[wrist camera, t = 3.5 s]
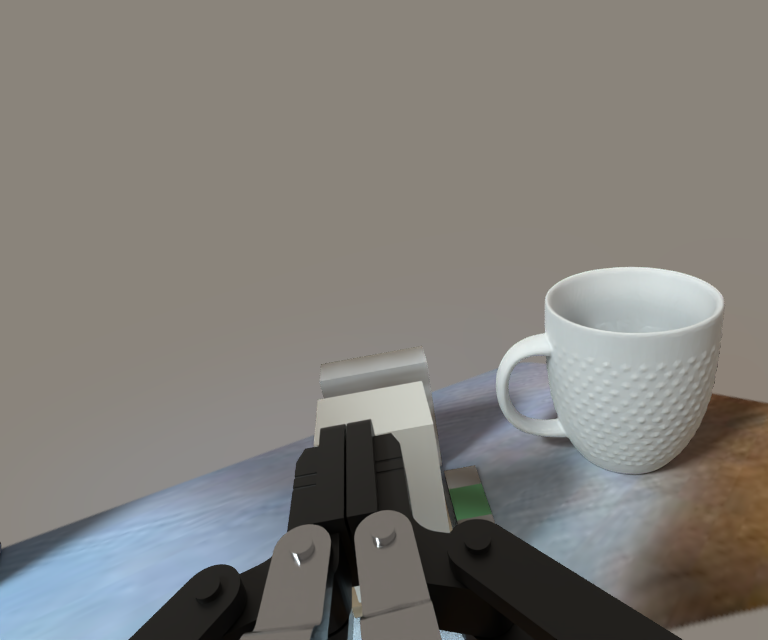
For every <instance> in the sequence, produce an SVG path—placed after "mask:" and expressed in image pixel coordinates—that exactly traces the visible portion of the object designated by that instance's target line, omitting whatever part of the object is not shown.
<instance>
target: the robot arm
mask: <svg viewBox="0 0 768 640" xmlns="http://www.w3.org/2000/svg"><path fill="white" fill-rule="evenodd" d="M0 553H1V543H0ZM356 586H360V595H361V604H362V615H363V616H362V617H361V618H360V627H361V637H362V640H442V639H441V635H440V631H439V630H444V631H450V632H455V633H461V634H462V635H463V637H464V639H465V640H682V639H681V638H679V637H678V636H676V635H674V634H673V633H671V632H670V631H668V630H666V629H665V628H663V627H662V626H660V625H658V624H657V623H655V622H653V621H652V620H650V619H649V618H647V617H645V616H644V615H642V614H641V613H639V612H637V611H636V610H634V609H633V608H631V607H629V606H628V605H626V604H624V603H623V602H621V601H620V600H618V599H616V598H615V597H613V596H612V595H610V594H608V593H607V592H605V591H603V590H602V589H600V588H599V587H597V586H595V585H594V584H592V583H591V582H589V581H587V580H586V579H584V578H583V577H581V576H579V575H578V574H576V573H574V572H573V571H571V570H570V569H568V568H566V567H565V566H563V565H562V564H560V563H558V562H557V561H555V560H553V559H552V558H550V557H549V556H547V555H545V554H544V553H542V552H541V551H539V550H537V549H536V548H534V547H533V546H531V545H529V544H528V543H526V542H524V541H523V540H521V539H520V538H518V537H516V536H515V535H513V534H512V533H510V532H508V531H507V530H505V529H504V528H502V527H500V526H499V525H497V524H495V523H493V522H491V521H488V520H483V519H471V520H467V521H464V522H462V523H460V524H458V525H457V526H456V527H454V528H453V530H452V531H451V532H450V533H445V532H437V531H432V530H429V529H427V528H424V527H423V526H421V525H420V524H419V523H418V522H417V521H416V520H415V519H414V518H413V512H412V506H411V500H410V494H409V487H408V481H407V476H406V471H405V466H404V461H403V456H402V451H401V446H400V443H399V441H398V440H397V439H396V438H395V437H394V436H393V435H392V433H388V434H383V435H377V436H375V433H374V428H373V424H372V420H371V419H368V420H362V421H357V422H351V423H347V425H346V424H341V425H336V426H330V427H325V428H321V429H320V437H319V446H318V447H313V448H307V449H305V450H304V452H303V453H302V455H301V456H300V458H299V459H298V461H297V463H296V470H295V479H294V485H293V493H292V500H291V507H290V515H289V522H288V530H287V533H286V534H285V535H283V537H282V538H281V539H280V540H279V541H278V543H277V544H276V546H275V548H274V551H273V555H272V557H271V558H270V559H268V560H267V561H265V562H264V563H262V564H260V565H258V566H256V567H254V568H252V569H249V570H247V571H245V572H243V573H241V574H239V573H238V572H237V570H236V569H235V568H233V567H232V566H229V565H223V564H220V565H214V566H211V567H208V568H206V569H204V570H202V571H200V572H199V573H197V574H196V575H195V576H193V577H192V578H191V579H190V580H189V581H188V582H187V583H186V584H185V585H184V586H183V587H182V588H181V589H180V590H179V591H178V592H177V593H176V594H175V595H174V596H173V597H172V598H171V599H170V600H169V601H168V602H167V603H166V604H165V605H164V606H162V607H161V608H160V609H159V610H158V611H157V612H156V613H155V614H154V615H153V616H152V617H151V618H150V619H149V620H148V621H147V622H146V623H145V624H144V625H143V626H142V627H141V628H140V629H139V630H138V631H137V632H136V633H135V634H134V635H133V636H132V637H131V638H130V639H129V640H353V626H354V615H353V610H352V587H356Z"/></svg>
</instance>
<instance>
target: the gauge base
mask: <svg viewBox="0 0 768 640" xmlns="http://www.w3.org/2000/svg"><path fill="white" fill-rule="evenodd" d="M418 381H422V383H423V387H424V391H425V395H426V398H427V402H428V406H429V410H430V413H431V417H432V421H433V425H434V432H435V438H436V445H437V451H438V458H439V464H440V466H442V460H441V453H440V446H439V440H438V433H437V426H436V420H435V413H434V406H433V400H432V393H431V386H430V380H429V374H428V366H427V361H426V357H425V355H424V351H423V348H422V346H418V347H413V348H408V349H402V350H397V351H392V352H386V353H380V354H375V355H369V356H364V357H359V358H353V359H347V360H342V361H336V362H331V363H325V364H321V369H320V380H319V382H320V385H321V389H322V393H323V397H324V399H325V398H330V397H336V396H341V395H347V394H352V393H358V392H363V391H369V390H374V389H380V388H385V387H391V386H396V385H402V384H407V383H413V382H418ZM444 473H445V478H446V482H447V485H448V489H449V493H450V497H451V501H452V505H453V508H454V512H455V516H456V520H457V524H460V523H462V522H464V521H467V520H471V519H483V520H488V521H491V522H493V523H495V521H494V518H493V515H492V513H491V510H490V507H489V504H488V501H487V498H486V495H485V492H484V490H483V487H482V484H481V481H480V478H479V475H478V472H477V469H476V467H475V465H474V466H469V467H463V468H457V469H452V470H446V471H444ZM444 497H445V496H444ZM445 503H446V501H445ZM446 510H447V517H448V523H449V530H450V532H451V531H452V530H453V529H452V525H451V521H450V517H449V513H448V509H447V505H446ZM352 610H353V613H354V617H355V618H358V617H362V616H363V615H362V604H361V603H359V601H358V598H357V594H356V591H355V587H352Z"/></svg>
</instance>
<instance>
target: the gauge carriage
mask: <svg viewBox="0 0 768 640" xmlns="http://www.w3.org/2000/svg"><path fill="white" fill-rule="evenodd" d="M368 419H371V420H372V424H373V428H374V433H375V436H377V435H383V434H388V433H392V435H393V436H394V437H395V438H396V439H397V440H398V441H399V443H400V446H401V451H402V456H403V461H404V466H405V471H406V476H407V481H408V487H409V494H410V500H411V506H412V512H413V518H414V519H415V520H416V521H417V522H418V523H419V524H420V525H421V526H423V527H424V528H427V529H429V530H432V531H437V532H445V533H450V530H449V523H448V517H447V510H446V503H445V497H444V490H443V484H442V477H441V471H440V464H439V458H438V451H437V445H436V438H435V432H434V425H433V421H432V417H431V413H430V410H429V406H428V402H427V398H426V395H425V391H424V387H423V383H422V381H418V382H413V383H407V384H402V385H396V386H391V387H385V388H380V389H374V390H369V391H363V392H358V393H352V394H347V395H341V396H336V397H330V398H325V399H320V400H318V402H317V414H316V425H315V436H314V447H318V446H319V437H320V429H321V428H325V427H330V426H336V425H341V424H346V425H347V423H351V422H357V421H362V420H368ZM355 591H356V594H357V598H358V601H359V603H361V595H360V586H356V587H355Z"/></svg>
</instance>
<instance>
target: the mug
mask: <svg viewBox="0 0 768 640" xmlns="http://www.w3.org/2000/svg"><path fill="white" fill-rule="evenodd" d="M724 309H725V304H724V298H723V296H722V295H721V293H720V292H719V291H718V290H717V289H716V288H715V287H713V286H712V285H710V284H709V283H707V282H705V281H703V280H701V279H698V278H696V277H693V276H690V275H687V274H684V273H680V272H675V271H670V270H664V269H656V268H645V267H617V268H605V269H599V270H592V271H586V272H583V273H579V274H576V275H573V276H570V277H568V278H565V279H564V280H562V281H560V282H558V283H557V284H555V285H554V286H553V287H552V288H551V289H550V290H549V291H548V293H547V295H546V298H545V333H544V334H538V335H534V336H530V337H527V338H525V339H523V340H521V341H519V342H518V343H516V344H515V345H513V346H512V347H511V348H510V349H509V350H508V352H507V353H506V354H505V356H504V357H503V359H502V361H501V363H500V365H499V368H498V371H497V377H496V393H497V398H498V402H499V405H500V408H501V410H502V412H503V414H504V416H505V417H506V419H507V420H508V421H509V422H510V423H511V424H512V425H513V426H514V427H516V428H517V429H519V430H521V431H522V432H525V433H528V434H532V435H536V436H542V437H567V438H569V439H570V441H571V442H572V444H573V445H574V446H575V448H576V449H577V450H578V451H579V452H580V453H581V455H583V456H584V457H585V458H586V459H587V460H588V461H590V462H591V463H593V464H595V465H597V466H599V467H601V468H603V469H606V470H609V471H612V472H616V473H623V474H643V473H648V472H652V471H654V470H657V469H659V468H661V467H663V466H664V465H666V464H667V463H668V462H670V461H671V460H672V459H674V458H675V457H676V456H677V455H678V454H680V453H681V451H682V450H683V449H684V448H685V447H686V446H687V445H688V444H689V441H690V440H691V438H692V437H694V435H695V433H696V430H697V429H698V428H699V426H700V424H701V422H702V418H703V417H704V415H705V412H706V411H707V406H708V403H709V402H710V400H711V395H712V389H713V385H714V383H715V373H716V371H717V367H718V357H719V354H720V351H719V349H720V344H721V342H720V341H721V338H722V325H723V317H724ZM531 356H546V359H547V361H546V364H547V371H548V379H549V386H550V390H551V396H552V400H553V403H554V407H555V410H556V412H557V414H558V418H557V419H550V420H540V419H532V418H528V417H526V416H523V415H522V414H520V413H519V412H518V411H517V410H516V409H515V407H514V406H513V404H512V402H511V400H510V397H509V391H508V385H509V379H510V375H511V373H512V371H513V369H514V367H515V366H516V365H517V364H518V363H519V362H520V361H521V360H523V359H526V358H528V357H531Z"/></svg>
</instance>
